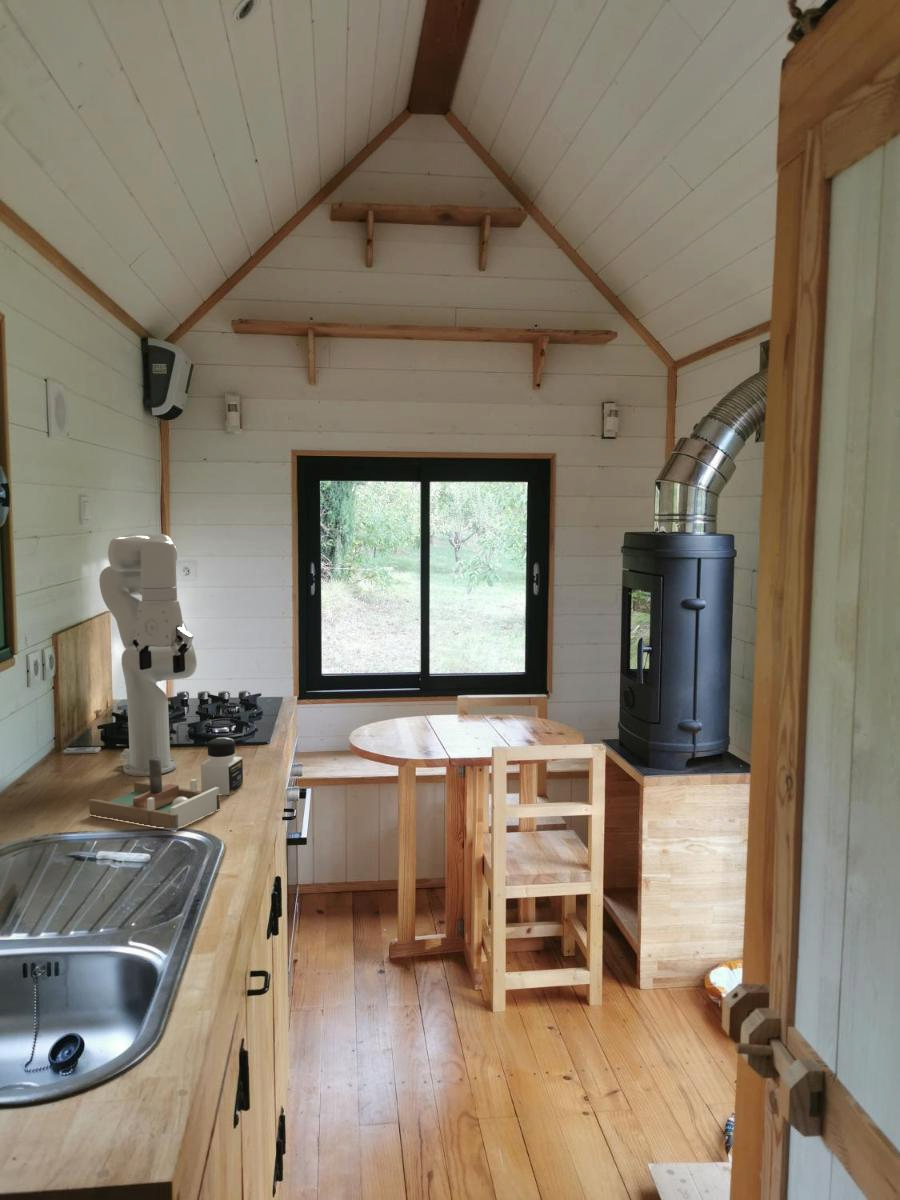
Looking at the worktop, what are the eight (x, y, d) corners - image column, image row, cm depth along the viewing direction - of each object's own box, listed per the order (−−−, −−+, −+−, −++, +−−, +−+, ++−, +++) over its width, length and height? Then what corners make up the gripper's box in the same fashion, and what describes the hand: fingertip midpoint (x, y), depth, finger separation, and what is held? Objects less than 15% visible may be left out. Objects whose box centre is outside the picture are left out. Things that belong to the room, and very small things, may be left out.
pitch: (89, 816, 184) (88, 788, 184) (137, 796, 197) (136, 770, 196) (175, 832, 175) (174, 803, 174) (219, 810, 188) (219, 783, 187)
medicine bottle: (230, 796, 197) (228, 744, 196) (201, 794, 198) (199, 742, 197) (243, 786, 204) (242, 736, 202) (215, 784, 205) (213, 734, 204)
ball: (183, 818, 180) (168, 818, 182) (196, 812, 184) (182, 812, 186) (180, 799, 180) (165, 800, 182) (193, 793, 184) (179, 794, 186)
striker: (133, 812, 182) (131, 765, 180) (168, 796, 191) (166, 752, 190) (144, 814, 180) (142, 767, 179) (179, 798, 190) (177, 754, 189)
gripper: (117, 595, 195) (120, 670, 197) (178, 598, 188) (181, 676, 190) (141, 592, 202) (144, 665, 204) (201, 595, 195) (203, 670, 197)
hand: (162, 670), depth 197 cm, fingers open, 9 cm apart
